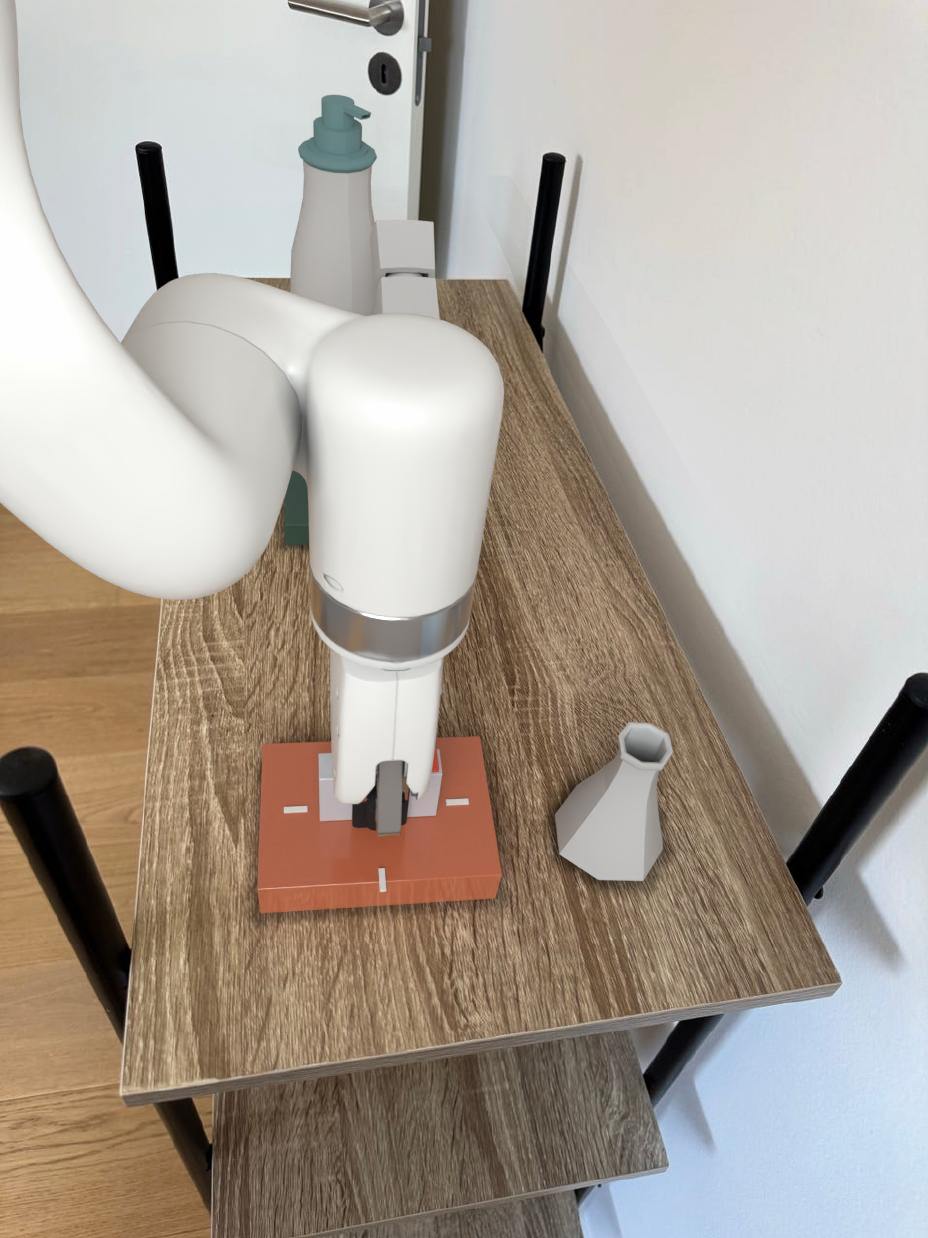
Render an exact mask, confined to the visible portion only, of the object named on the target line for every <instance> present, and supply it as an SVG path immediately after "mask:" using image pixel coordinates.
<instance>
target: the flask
mask: <svg viewBox="0 0 928 1238" xmlns="http://www.w3.org/2000/svg"><path fill="white" fill-rule="evenodd" d="M616 741H617V747H618V750H617V751H616V755H615V757H614V758H613V759H612V760H611V761H609V762H608V763H606V764H605V765H604V766H603V767H601V768H600V769H599V770H598V771H596V772H594V773H593V774H592V775H590V776H588V777H587V778H585V779H584V780H582V781H581V782H579V783H578V784H576V786H575V787H574V788H573V789H572V791H571V792H570V793H569V795H568V796H567V798H566V799H565V800H564V802H563V803H562V805H561V806H559V808H558V810H557V811H556V812H555V814H554V820H555V828H556V837H557V838H556V839H557V847H558V854H559V855H560V856H561V857H563V858H564V859H566V860H568V862H570V863H572V864H573V865H574V866H576V867H578V868H579V869H581V870H583V871H584V872H585V873H587V874H588V875H590V876H592V877H593V878H595V879H596V880H597V881H627V882H630V881H632V882H643V881H645V879H646V878H647V875H648V874H649V873H650V871H651V869H652V867H653V866H654V864H655V863H656V861H657V859H658V858H659V857H660V855H661V853H662V852H663V850H664V842H663V836H662V834H663V833H662V828H661V827H662V826H661V822H660V815H659V812H660V811H659V802H658V792H657V789H658V788H657V787H658V781H659V775H660V771H662V770H663V769H664V767H665V766H666V765H667V763H668V762H669V760H670V759H671V757H672V756H673V753H674V751H673V746H672V741H671V737H670V734H669V733H668V732H666V731H664V730H663V729H661V728H659V727H657V726H656V725H654V724H652V723H651V722H636V721H635V722H634V721H628V722H627V724H626V725H625V726H624V728H622V730H621V732H620V733H619V735H618V736H617V739H616Z"/></svg>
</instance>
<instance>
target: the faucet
mask: <svg viewBox="0 0 928 1238" xmlns="http://www.w3.org/2000/svg"><path fill="white" fill-rule="evenodd" d="M370 245H371V255H372V265H373V275H374V285H375V295H376V303H375V308H374V313H373V315H376V314H387V313H407V314H417V315H423V316H428V317H433V318H437V319H440V320H441V317H440V310H439V309H440V308H439V299H438V290H437V280H436V261H435V260H436V259H435V257H436V255H435V227H434V221H429V220H428V221H427V220H419V219H418V220H416V219H415V220H414V219H378V220H377V219H376V220H375V224H374V226H373V228H372V232H371V237H370Z"/></svg>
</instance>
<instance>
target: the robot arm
mask: <svg viewBox="0 0 928 1238" xmlns="http://www.w3.org/2000/svg"><path fill="white" fill-rule="evenodd" d="M18 35H19V33H18V17H17V5H16V0H0V504H1V505H2V506H3V507H4V508H5V509H7V510H8V511H9V512H10V513H11V514H12V515H14V516H15V517H16V518H17V519H18V520H19V521H20V522H21V523H23V524H24V525H25V526H27V528H29V529H30V530H32V531H33V532H34V533H35V534H36V535H37V536H38V537H40V538H41V539H42V540H44V541H45V542H46V543H48V545H50V546H52V547H53V548H54V549H55V550H57V551H58V552H59V553H61V554H62V555H63V556H64V557H66V558H68V560H71V561H72V562H73V563H75V564H76V565H78V566H79V567H81V568H83V569H84V570H86V571H88V572H89V573H91V574H93V575H94V576H96V577H98V578H100V579H102V580H103V581H106V582H107V583H110V584H112V585H114V586H116V587H118V588H121V589H123V590H126V591H128V592H131V593H134V594H138V595H140V596H141V595H142V596H145V597H148V598H153V599H159V600H169V601H187V600H196V599H202V598H205V597H208V596H212V595H215V594H217V593H220V592H222V591H224V590H226V589H227V588H230V587H231V586H233V585H235V584H237V583H238V582H240V580H241V579H243V578H244V577H245V576H246V575H247V574H248V573H249V572H250V571H252V569H253V568H254V567H256V565H257V563H258V562H259V560H260V559H261V557H262V556H263V554H264V553H265V552H266V549H267V548H268V545H269V544H270V541H271V539H272V537H273V533H274V531H275V527H276V525H277V522H278V519H279V515H280V513H281V509H282V506H283V504H284V502H285V495H286V491H287V488H288V484H289V480H290V477H291V473H292V470H293V471H296V472H298V473H299V474H301V475H302V477H303V478H304V479H305V481H306V484H307V488H308V509H309V545H308V547H309V552H308V553H309V556H308V557H309V558H308V559H309V561H308V563H309V593H310V594H309V598H310V605H309V607H310V608H309V609H310V610H309V611H310V618H311V622H312V626H313V628H314V630H315V631H316V633H317V635H318V637H319V639H321V641H323V643H324V644H325V645H326V646H327V647H328V648H329V699H330V700H329V703H330V704H329V706H330V707H329V709H330V711H329V713H330V741H331V747H332V777H333V791H334V795H335V797H336V798H337V799H338V800H339V801H340V802H341V803H342V804H352V826H353V827H355V828H368V829H370V830H374V831H377V836H390V835H401V826H402V825H405V824H406V822H407V813H408V804H409V795H410V789H411V797H413V796H416V800H419V799H420V798H421V797H422V796H423V795H424V794H425V793H426V791H427V790H428V787H429V783H430V778H431V773H432V767H433V759H434V751H435V744H436V738H437V734H438V725H439V714H440V704H441V695H442V693H443V688H442V683H443V682H442V681H443V671H444V660H445V656H447V655H448V654H450V653H451V652H452V651H453V650H455V649H456V648H457V647H458V646H459V644H460V643H461V641H462V640H463V639H464V638H465V635H466V634H467V631H468V628H469V624H470V620H471V615H472V607H473V600H474V596H475V595H474V594H475V588H476V583H477V576H478V569H479V564H480V556H481V551H482V543H483V538H484V533H485V532H484V531H485V527H486V526H485V524H486V520H487V519H486V518H487V513H488V506H489V499H490V494H491V488H492V487H491V486H492V483H493V476H494V469H495V464H496V456H497V450H498V445H499V439H500V432H501V426H502V418H503V412H504V411H503V410H504V400H505V385H504V379H503V376H502V372H501V369H500V366H499V363H498V362H497V360H496V358H495V357H494V355H493V354H492V352H491V350H490V349H489V347H487V346H486V345H485V344H484V343H483V342H482V340H480V339H479V338H478V337H476V336H475V335H474V334H471V333H470V332H469V331H467V330H466V329H464V328H462V327H460V326H458V325H456V324H454V323H452V322H449V321H446V320H443V319H441V318H440V319H437V318H433V317H428V316H423V315H417V314H407V313H387V314H376V315H370V316H364V315H361V314H357V313H354V312H350V311H346V310H343V309H339V308H336V307H333V306H330V305H327V304H324V303H320V302H317V301H314V300H311V299H308V298H305V297H302V296H299V295H296V294H293V293H290V291H287V290H284V289H281V288H279V287H276V286H272V285H270V284H266V283H263V282H261V281H256V280H253V279H250V278H246V277H241V276H237V275H233V274H226V273H217V272H202V273H192V274H187V275H184V276H181V277H177V278H174V279H173V280H170V281H168V282H167V283H166V284H164V285H162V286H161V287H160V288H158V289H157V290H156V291H154V292H153V294H152V295H151V296H150V297H149V298H148V299H147V300H146V302H145V303H144V304H143V306H142V307H141V309H140V310H139V311H138V313H137V314H136V316H135V318H134V320H133V322H132V323H131V325H130V326H129V328H128V330H127V332H126V333H125V335H124V336H123V338H122V340H121V341H120V340H119V339H118V337H117V336H116V335H115V333H114V332H113V331H112V330H111V328H110V327H109V326H108V324H107V322H105V321H104V319H103V318H102V316H101V315H100V314H99V312H98V311H97V309H96V307H95V306H94V304H93V303H92V301H91V300H90V298H89V297H88V295H87V294H86V291H84V289H83V288H82V286H81V285H80V283H79V281H78V279H77V278H76V276H75V274H74V272H73V270H72V268H71V266H70V264H69V263H68V261H67V259H66V257H65V256H64V253H63V252H62V250H61V248H60V246H59V244H58V242H57V241H58V240H57V239H56V236H55V234H54V231H53V230H52V227H51V225H50V223H49V222H50V221H49V220H48V217H47V216H46V213H45V210H44V208H43V205H42V202H41V198H40V195H39V193H38V190H37V189H38V188H37V186H36V183H35V179H34V177H33V173H32V170H31V164H30V161H29V160H30V159H29V155H28V151H27V146H26V142H25V137H24V127H23V121H22V111H21V99H20V98H21V95H20V93H21V92H20V66H19V65H20V64H19V62H20V61H19V38H18V37H19V36H18Z"/></svg>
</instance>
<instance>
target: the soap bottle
mask: <svg viewBox="0 0 928 1238" xmlns="http://www.w3.org/2000/svg"><path fill="white" fill-rule="evenodd" d="M320 101H321V106H320V107H321V108H320V109H321V116H319V117H316V118H315V119H314V120H313V124H312V125H313V126H312V127H313V136H311V137H310V138H309V139H307V140H304V141H302V142H301V143H300V144H299V146H298V148H297V150H298V155H299V158H300V159H301V160H302V165H303V188H302V199H301V205H300V206H301V207H300V210H299V215H298V221H297V226H296V228H295V233H294V237H293V242H292V246H291V251H290V274H289V278H290V279H289V292H290V293H293V294H296V295H299V296H302V297H305V298H308V299H311V300H314V301H317V302H320V303H324V304H327V305H330V306H333V307H336V308H339V309H343V310H346V311H350V312H354V313H357V314H361V315H364V316H370V315H373V313H374V308H375V303H376V295H375V285H374V275H373V265H372V255H371V245H370V237H371V232H372V228H373V226H374V224H375V222H376V220H375V215H374V209H373V205H372V170H373V165H374V164H375V162H376V160H377V159H378V156H377V153H376V150H375V148H374V147H372V146H371V145H369V144H367V143H366V142H365V141H363V125H362V123H361V122H360V121H359V120H361V121H362V120H367V119H370V118H371V115H372V112H371V111H369V110H368V109H367V110H366V109H364V108H363V107H361V106H358V105H356V104H355V100H354V99H353V98H352V97H350V96H346V95H341V94H326V95H324V96H322V97H321V100H320ZM357 119H358V120H357Z"/></svg>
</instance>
